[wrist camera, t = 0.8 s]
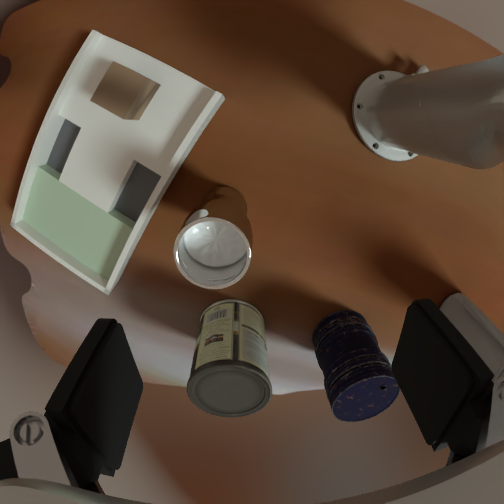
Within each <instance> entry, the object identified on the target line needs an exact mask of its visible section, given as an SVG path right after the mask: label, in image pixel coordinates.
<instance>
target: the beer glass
mask: <svg viewBox="0 0 504 504" xmlns="http://www.w3.org/2000/svg"><path fill="white" fill-rule="evenodd" d="M252 244H253V235H252V228H251V224H250V221H249V219H248V217H247V204H246V201H245V199H244V197H243V196H242V194H241V193H240V192H238V191H237V190H235V189H233V188H231V187H225V186H221V187H216V188H214V189H212V190H210V191H209V192H207V193H206V195H205V196H204V197H203V199H202V201H201V204H199V205H198V206H196V207H195V208H194V209H193V210H192V211H191V212H190V213H189V215H188V216H187V217H186V219H185V220H184V222H183V224H182V226H181V229H180V231H179V234H178V236H177V239H176V241H175V245H174V259H175V263H176V265H177V267H178V269H179V271H180V272H181V274H182V275H183V276H184V277H185V278H186V279H187V280H188V281H190V282H191V283H193V284H195V285H197V286H199V287H202V288H206V289H222V288H226V287H229V286H231V285H233V284H235V283H236V282H238V281H239V280H240V279H241V278H242V277H243V276H244V275H245V273H246V272H247V270H248V268H249V265H250V262H251V252H252Z"/></svg>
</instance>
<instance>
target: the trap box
mask: <svg viewBox="0 0 504 504" xmlns="http://www.w3.org/2000/svg"><path fill="white" fill-rule="evenodd" d="M113 61H114V62H116V63H119V64H121V65H123V66H125V67H127V68H129V69H131V70H133V71H135V72H137V73H139V74H141V75H143V76H145V77H147V78H149V79H151V80H153V81H155V82H157V83H158V84H160V85H161V86H160V87H159V89H158V90H157V92H156V93H155V95H154V96H153V98H152V100H151V101H150V103H149V104H148V106H147V108H146V109H145V111H144V113H143V114H142V116H141V118H140V119H139V120H124V119H122V118H120V117H118V116H116V115H115V114H113V113H111V112H109V111H108V110H106V109H104V108H102V107H100V106H99V105H97V104H95V103H93V102H91V101H90V100H91V98H92V96H93V94H94V92H95V90H96V89H97V87H98V85H99V83H100V82H101V80H102V78H103V77H104V75H105V73H106V72H107V70H108V68H109V67H110V65H111V63H112V62H113ZM224 100H225V98H224V96H223V94H221V93H219V92H218V91H216V92H215V91H214V90H212V89H210V88H209V87H207V86H205V85H203V84H202V83H200V82H198V81H196V80H195V79H193V78H191V77H189V76H187V75H185V74H184V73H182V72H180V71H178V70H176V69H174V68H172V67H170V66H168V65H167V64H165V63H163V62H161V61H159V60H157V59H155V58H153V57H151V56H149V55H147V54H144V53H142V52H140V51H138V50H136V49H134V48H132V47H129V46H127V45H125V44H123V43H121V42H118V41H116V40H114V39H111V38H109V37H107V36H104V35H102V34H101V33H99V32H97V31H95V30H92V31H91V33H90V34H89V36H88V37H87V39H86V41H85V42H84V44H83V45H82V47H81V49H80V50H79V52H78V53H77V55H76V57H75V59H74V60H73V62H72V64H71V66H70V67H69V69H68V71H67V73H66V75H65V77H64V78H63V80H62V82H61V84H60V86H59V88H58V90H57V92H56V94H55V96H54V98H53V100H52V103H51V105H50V107H49V109H48V111H47V114H46V116H45V118H44V120H43V123H42V125H41V128H40V130H39V133H38V135H37V138H36V140H35V143H34V146H33V148H32V151H31V154H30V157H29V160H28V163H27V166H26V169H25V172H24V175H23V179H22V182H21V185H20V189H19V192H18V196H17V200H16V204H15V208H14V212H13V216H12V221H11V226H12V227H13V228H14V229H16V230H17V231H18V232H19V233H21V234H22V235H23V236H24V237H26V238H27V239H28V240H30V241H31V242H32V243H33V244H35V245H36V246H37V247H39V248H40V249H41V250H43V251H44V252H45V253H47V254H48V255H50V256H51V257H52V258H54V259H55V260H56V261H58V262H59V263H61V264H62V265H63V266H65V267H66V268H68V269H69V270H71V271H72V272H74V273H75V274H77V275H78V276H79V277H81V278H82V279H84V280H85V281H87V282H88V283H90V284H92V285H93V286H95V287H96V288H98V289H99V290H101V291H102V292H104V293H106V294H107V295H109V294H110V292H111V291H112V290H113V288H114V287H115V285H116V284H117V283H118V281H119V280H120V278H121V275H122V273H123V271H124V269H125V267H126V265H127V263H128V261H129V259H130V257H131V255H132V253H133V251H134V249H135V247H136V245H137V243H138V241H139V239H140V237H141V235H142V234H143V232H144V230H145V228H146V226H147V224H148V222H149V220H150V219H151V217H152V215H153V213H154V211H155V209H156V208H157V206H158V204H159V202H160V201H161V199H162V197H163V195H164V194H165V192H166V190H167V188H168V187H169V185H170V183H171V182H172V180H173V178H174V177H175V175H176V173H177V172H178V170H179V168H180V167H181V165H182V163H183V162H184V160H185V159H186V157H187V155H188V154H189V152H190V151H191V149H192V147H193V146H194V144H195V143H196V141H197V140H198V138H199V137H200V135H201V134H202V132H203V131H204V129H205V128H206V126H207V125H208V123H209V122H210V120H211V119H212V117H213V116H214V114H215V113H216V111H217V110H218V108H219V107H220V106H221V104H222V103H223V101H224Z"/></svg>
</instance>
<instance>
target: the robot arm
mask: <svg viewBox="0 0 504 504" xmlns="http://www.w3.org/2000/svg"><path fill="white" fill-rule="evenodd" d="M379 77H380V79H379ZM357 105H359V109H358V108H357ZM352 117H353V123H354V126H355V129H356V131H357V133H358V135H359V137H360V139H361V140H362V142H363V143H364V144H365V146H366V147H368V148H369V149H370V150H371V151H372V152H373V153H375V154H376V155H378V156H380V157H382V158H384V159H388V160H391V161H407V160H410V159H412V158H414V157H416V156H417V155H423V156H427V157H431V158H435V159H439V160H443V161H447V162H451V163H455V164H458V165H462V166H466V167H469V168H474V169H488V168H491V167H494V166H496V165H498V164H500V163H501V162H503V161H504V54H503V55H501V56H497V57H494V58H491V59H487V60H484V61H479V62H474V63H469V64H465V65H459V66H453V67H449V68H444V69H439V70H434V71H430V72H429V69H428V68H427V67H426V66H424V65H420V67H419V68H418V70H417V71H416V73H415V74H414V73H413V74H409V75H405V74H403V73H400V72H397V71H389V70H388V71H380V72H377V73H374V74H372V75H370V76H368V77H367V78H366V79H365V80H363V81H362V82H361V84H360V85H359V86H358V88H357V90H356V92H355V94H354V98H353V102H352ZM373 144H374V145H375V146H374V147H373ZM408 152H409V153H408ZM391 368H392V373H393V375H394V377H395V379H396V381H397V383H398V385H399V387H400V389H401V391H402V393H403V395H404V397H405V399H406V401H407V403H408V405H409V407H410V409H411V411H412V413H413V415H414V417H415V420H416V421H417V424H418V426H419V428H420V430H421V432H422V434H423V437H424V439H425V441H426V443H427V444H428V445H431V446H432V448H433V450H434V452H435V451H437V450H440V449H442V448H445V447H447V446H449V448H450V450H451V451H450V454H449V457H448V460H447V463H446V466H445V467H443V468H441V469H439V470H436V471H434V472H431V473H429V474H426V475H424V476H421V477H418V478H415V479H412V480H410V481H407V482H404V483H401V484H397V485H394V486H391V487H388V488H385V489H381V490H377V491H374V492H370V493H365V494H361V495H357V496H353V497H348V498H344V499H339V500H333V501H328V502H322V503H316V504H504V377H502V378H500V379H498V380H497V381H496V382H495V384H494V383H493V381H492V379H493V377H494V374H493V372H492V371H491V370H490V369H489V367H488V366H487V365H486V363H485V362H484V361H483V360H482V358H481V357H480V356H479V355H478V353H477V352H476V351H475V350H474V349H473V347H472V346H471V345H470V344H469V342H468V341H467V340H466V339H465V338H464V337H463V335H462V334H461V333H460V332H459V331H458V329H457V328H456V327H455V326H454V325H453V324H452V323H451V321H450V320H449V319H448V318H447V317H446V316H445V315H444V314H443V312H442V311H441V310H440V309H439V308H438V307H437V306H436V305H435V304H434V303H433V301H432V300H430V299H421V300H415V301H413V302H412V304H411V305H410V306H409V307H408V309H407V312H406V316H405V320H404V324H403V328H402V331H401V335H400V339H399V342H398V346H397V349H396V352H395V355H394V359H393V362H392V367H391ZM142 390H143V382H142V379H141V376H140V374H139V371H138V369H137V366H136V363H135V361H134V358H133V355H132V353H131V350H130V347H129V344H128V341H127V338H126V336H125V333H124V330H123V327H122V325H121V324H120V323H117V321H116V320H115V319H104V318H100V319H98V320H97V321H96V322H95V324H94V325H93V327H92V328H91V330H90V332H89V333H88V335H87V336H86V338H85V340H84V341H83V343H82V344H81V346H80V348H79V349H78V351H77V353H76V354H75V356H74V357H73V359H72V361H71V363H70V364H69V366H68V368H67V369H66V371H65V373H64V374H63V376H62V378H61V380H60V382H59V383H58V385H57V387H56V389H55V390H54V392H53V394H52V396H51V398H50V400H49V401H48V403H47V405H46V407H45V410H46V412H45V414H44V416H43V415H42V414H41V413H38V412H31V411H30V412H26V413H24V414H22V415H20V416H19V417H17V418H16V419H15V420H14V422H13V424H12V425H11V429H10V438H9V439H7V440H5V441H2V442H0V504H151V503H143V502H139V501H133V500H127V499H122V498H117V497H112V496H108V495H105V493H104V491H103V489H102V488H101V486H100V484H99V482H98V478H99V475H100V474H103V475H108V476H112V477H114V473H115V470H118V469H119V468H120V466H121V463H122V459H123V456H124V452H125V448H126V445H127V441H128V438H129V434H130V430H131V427H132V423H133V420H134V417H135V413H136V410H137V407H138V404H139V400H140V397H141V394H142Z"/></svg>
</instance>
